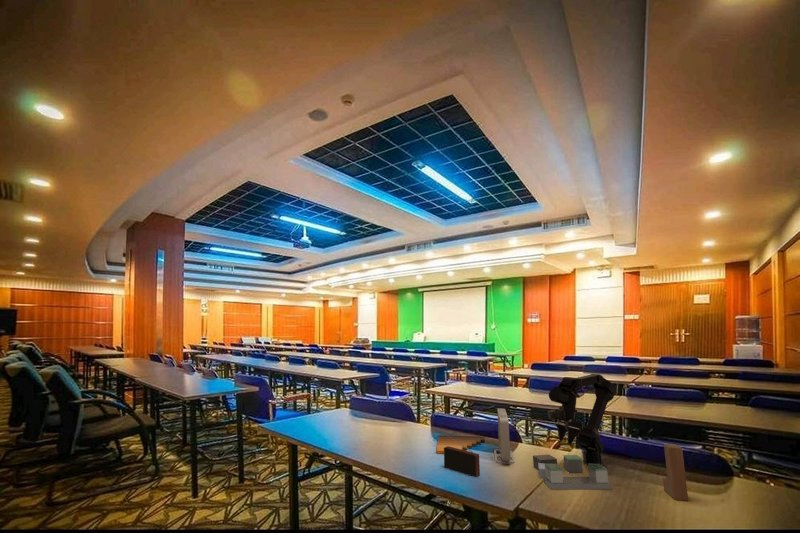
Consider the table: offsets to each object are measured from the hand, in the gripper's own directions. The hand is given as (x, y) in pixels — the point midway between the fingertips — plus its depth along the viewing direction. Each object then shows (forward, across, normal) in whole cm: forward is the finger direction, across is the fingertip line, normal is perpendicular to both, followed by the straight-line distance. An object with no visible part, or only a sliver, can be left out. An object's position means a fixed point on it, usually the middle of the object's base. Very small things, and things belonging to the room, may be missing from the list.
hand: (564, 442), depth 166 cm
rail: (+14, +14, 0) cm, 19 cm away
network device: (+14, -20, -20) cm, 31 cm away
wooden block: (+8, +23, +32) cm, 40 cm away
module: (+11, -1, +5) cm, 12 cm away
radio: (+22, -2, -42) cm, 48 cm away
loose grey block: (+13, -4, -5) cm, 15 cm away
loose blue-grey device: (+15, +4, -8) cm, 17 cm away
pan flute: (+17, -35, -37) cm, 54 cm away
